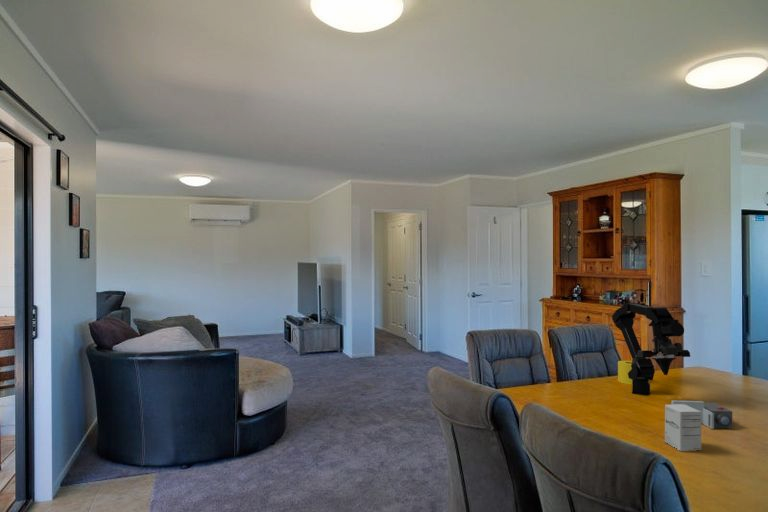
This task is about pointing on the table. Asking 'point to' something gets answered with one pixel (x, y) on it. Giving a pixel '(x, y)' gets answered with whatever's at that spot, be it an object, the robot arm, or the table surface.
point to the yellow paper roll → (624, 371)
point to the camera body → (720, 415)
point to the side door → (706, 415)
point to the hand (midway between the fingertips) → (665, 375)
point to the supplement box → (683, 427)
